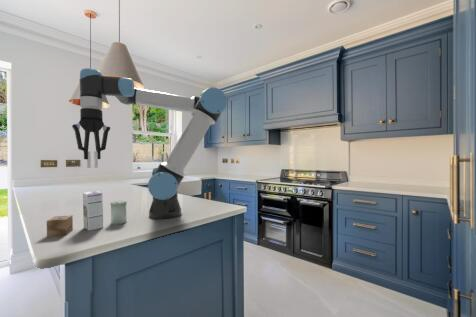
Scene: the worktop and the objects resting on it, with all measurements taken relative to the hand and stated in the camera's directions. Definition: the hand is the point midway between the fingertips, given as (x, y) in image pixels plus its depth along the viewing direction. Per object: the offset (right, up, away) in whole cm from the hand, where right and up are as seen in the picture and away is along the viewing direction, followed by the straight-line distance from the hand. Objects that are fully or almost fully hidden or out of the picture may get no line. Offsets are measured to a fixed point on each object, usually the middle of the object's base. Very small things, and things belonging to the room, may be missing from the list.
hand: (92, 167), depth 93 cm
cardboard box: (-8, -25, -6) cm, 27 cm away
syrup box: (0, -25, 0) cm, 25 cm away
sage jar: (+7, -24, +8) cm, 26 cm away
